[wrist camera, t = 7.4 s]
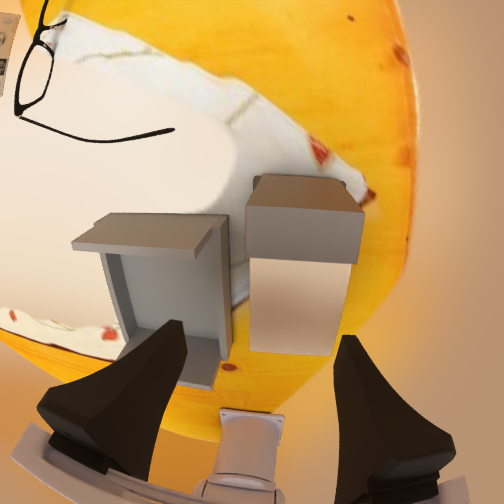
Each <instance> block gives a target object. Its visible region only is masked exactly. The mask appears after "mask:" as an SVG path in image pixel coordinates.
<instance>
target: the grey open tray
mask: <svg viewBox="0 0 504 504" xmlns="http://www.w3.org/2000/svg"><path fill="white" fill-rule="evenodd" d="M71 244H72V248H73V250H77V251H88V252H99V253H100V257H101V261H102V266H103V270H104V273H105V277H106V281H107V285H108V288H109V292H110V295H111V299H112V302H113V306H114V309H115V312H116V316H117V319H118V322H119V325H120V328H121V331H122V334H123V337H124V339H125V342H126V343H127V344H126V346H125V347H124V349H123V350H122V352H121V353H120V355H119V356H118V358H117V359H116V361H117V360H119V359H120V358H122V357H123V356H125V355H126V354H128V353H129V352H130V351H132V350H133V349H134V348H136V347H137V346H138V345H140V344H141V343H142V342H143V341H145V340H146V339H147V338H148V337H150V336H151V335H152V334H153V333H154V332H155V331H157V330H158V329H159V328H160V327H161V326H163V325H164V324H165V323H166V322H167V321H169V320H170V319H173V320H180V321H183V327H184V333H185V339H186V344H187V350H188V354H187V357H186V361H185V364H184V367H183V370H182V373H181V375H180V377H179V380H178V382H177V384H176V385H181V386H186V387H192V388H197V389H203V390H209V391H212V389H213V385H214V382H215V379H216V375H217V372H218V369H219V365H220V362H221V360H223V361H228V358H229V355H230V351H231V347H232V344H233V333H232V311H231V286H230V258H229V222H228V215H211V214H175V213H110V214H108V215H106V216H105V217H103V218H101V219H100V220H98V221H96V222H95V223H94V227H93V228H91V229H90V230H88V231H87V232H85V233H84V234H82V235H81V236H80V237H78V238H76V239H75V240H73V241H72V242H71ZM116 361H115V362H116Z"/></svg>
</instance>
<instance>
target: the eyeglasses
mask: <svg viewBox="0 0 504 504" xmlns="http://www.w3.org/2000/svg"><path fill="white" fill-rule="evenodd" d="M48 1H49V0H45V2H44V5H43V8H42V11H41V15H40V19H39V24H38V29H37V30H36V33H35V35H34V38H33V43H32V44H31V46H30V48H29V50H28V52H27V54H26V56H25V58H24V60H23V63H22V66H21V69H20V72H19V75H18V79H17V84H16V90H15V100H14V114H15V116H17V117H18V118H19V119H22V120H25V121H27V122H30V123H33V124H35V125H38V126H41V127H43V128H46V129H49V130H51V131H54V132H57V133H59V134H62V135H65V136H68V137H71V138H74V139H77V140H81V141H85V142H92V143H115V142H123V141H129V140H136V139H141V138H147V137H151V136H156V135H161V134H166V133H171V132H173V131H175V128H166V129H162V130H157V131H153V132H149V133H145V134H141V135H136V136H132V137H127V138H122V139H117V140H108V141H107V140H88V139H83V138H79V137H76V136H72V135H70V134H66V133H64V132H61V131H58V130H56V129H53V128H51V127H48V126H45V125H43V124H40V123H38V122H35V121H33V120H30V119H28V118H25V117H22V114H23V111H24V110H26V109H27V108H29V107H31V106H33V105H34V104H36V103H37V102H39V101H40V100H42V99H43V97H44V96H45V94H46V91H47V88H48V85H49V82H50V79H51V74H52V71H53V66H54V59H55V57H54V52H53V51H52V49H51V48H50V46H52V44H51V43H48V42H46V43H47V44H48V45H47V44H46V43H44V42H43V41H41V40H40V35H41V33H42V32H43V31H45V30H49V29H51V30H52V28H53V29H55V30H56V29H58V28H59V27H58V26H60V25H62V24H64V23H66V22H67V19H68V18H67V19H65V20H64V21H62V22H61V23H58V24H56V25H52V26H44V25H43V19H44V14H45V10H46V7H47V4H48ZM36 45H40V46H42V47H44V48H45V49H47V50H48V52H49V53H50V54H51V56H52V63H51V68H50V73H49V77H48V80H47V83H46V86H45V89H44V92H43V94H42V96H41V97H39V98H38V99H36V100H35V101H33V102H31V103H29V104H25V105H20V103H19V89H20V82H21V77H22V74H23V70H24V67H25V64H26V61H27V59H28V57H29V55H30V53H31V51H32V50H33V48H34V47H35V46H36Z"/></svg>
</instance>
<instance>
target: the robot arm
mask: <svg viewBox="0 0 504 504" xmlns="http://www.w3.org/2000/svg"><path fill="white" fill-rule="evenodd" d="M187 354H188V350H187V344H186V339H185V333H184V327H183V321H180V320H173V319H170V320H169V321H167V322H166V323H165V324H164V325H163V326H161V327H160V328H159V329H158V330H157V331H155V332H154V333H153V334H152V335H151V336H150V337H148V338H147V339H146V340H145V341H143V342H142V343H141V344H140V345H138V346H137V347H136V348H134V349H133V350H132V351H130V352H129V353H128V354H126V355H125V356H123V357H122V358H120V359H119V360H117V361H116V362H114V363H112V364H110V365H109V366H107V367H105V368H103V369H101V370H99V371H97V372H95V373H93V374H91V375H89V376H86V377H84V378H81V379H79V380H76V381H73V382H70V383H67V384H63V385H59V386H55V387H51V388H49V389H48V391H47V392H46V394H45V395H44V397H43V398H42V399H41V401H40V402H39V404H38V405H37V411H38V412H39V414H40V415H41V417H42V418H43V419H44V420H45V421H46V422H47V424H48V425H49V426H50V427H51V428H52V429H53V430H54V433H53V434H52V435H51V434H50V433H48V432H47V431H46V430H43V429H42V428H41V427H39V426H38V425H36V424H34V423H33V422H31V423H30V424H29V426H28V427H27V429H26V430H25V432H24V433H23V435H22V437H21V438H20V440H19V442H18V443H17V445H16V447H15V448H14V450H13V452H12V453H11V455H10V457H11V458H12V459H13V460H14V461H15V462H16V463H18V464H19V465H20V466H21V467H23V468H24V469H25V470H27V471H28V472H29V473H30V474H32V475H33V476H34V477H36V478H37V479H39V480H40V481H41V482H43V483H44V484H46V485H47V486H49V487H50V488H52V489H53V490H55V491H56V492H58V493H59V494H61V495H62V496H64V497H66V498H67V499H69V500H71V501H73V502H74V503H76V504H157V503H155V502H152V501H150V500H148V499H151V500H154V501H156V502H160V503H163V504H285V496H284V494H283V492H282V491H281V490H280V489H275V486H276V483H274V474H275V465H276V455H277V447H278V446H279V442H280V438H281V434H282V429H283V424H284V419H285V416H284V415H279V414H266V413H255V412H246V411H238V410H230V409H220V419H221V425H222V430H223V432H222V436H221V440H220V444H219V449H218V452H217V457H216V461H215V465H214V469H213V473H212V474H209V478H208V479H205V478H204V479H202V480H200V481H198V482H197V484H196V485H195V488H194V490H193V493H192V495H190V494H186V493H182V492H178V491H175V490H171V489H167V488H164V487H161V486H157V485H154V484H151V483H148V482H147V481H148V476H149V470H150V464H151V459H152V455H153V450H154V446H155V442H156V438H157V434H158V431H159V427H160V424H161V421H162V417H163V414H164V411H165V409H166V406H167V404H168V402H169V400H170V397H171V395H172V393H173V391H174V388H175V386H176V384H177V382H178V380H179V377H180V375H181V373H182V370H183V367H184V364H185V361H186V357H187ZM333 369H334V391H335V397H336V406H337V412H338V421H339V435H340V437H339V466H338V478H337V487H336V495H335V502H334V504H470V499H469V493H468V488H467V483H466V478H465V476H461V477H458V478H455V479H452V480H449V481H446V482H443V483H441V484H439V485H437V479H439V478H440V475H439V470H441V469H442V468H443V467H444V466H446V465H447V464H448V463H449V462H451V460H453V459H454V457H455V455H456V450H455V446H454V442H453V439H452V437H451V435H450V434H448V433H447V432H445V431H443V430H442V429H440V428H438V427H437V426H435V425H434V424H432V423H431V422H429V421H428V420H426V419H425V418H424V417H423V416H421V415H420V414H419V413H418V412H416V411H415V410H414V409H413V408H412V407H411V406H409V404H407V403H406V402H405V401H404V400H403V399H402V398H401V397H400V396H399V394H398V393H397V392H396V391H395V390H394V389H393V388H392V387H391V386H390V384H389V383H388V382H387V381H386V379H385V378H384V377H383V375H382V374H381V373H380V371H379V370H378V368H377V367H376V366H375V364H374V363H373V361H372V360H371V359H370V357H369V356H368V354H367V352H366V351H365V349H364V348H363V346H362V345H361V343H360V341H359V339H358V338H357V337H356V335H342V338H341V342H340V345H339V349H338V352H337V356H336V359H335V362H334V367H333ZM138 495H139V496H138ZM140 496H142V497H140ZM143 497H144V498H143ZM145 498H147V499H145Z"/></svg>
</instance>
